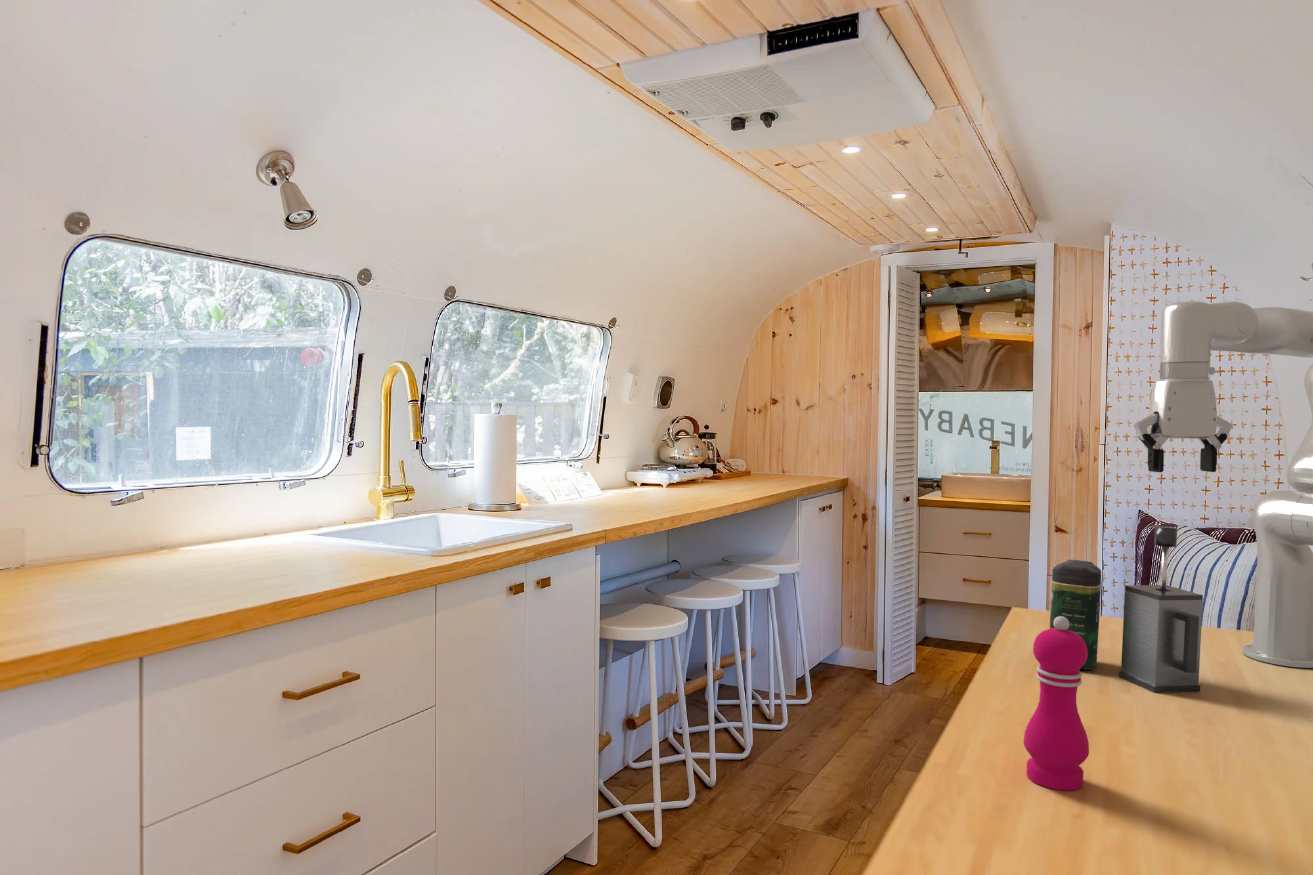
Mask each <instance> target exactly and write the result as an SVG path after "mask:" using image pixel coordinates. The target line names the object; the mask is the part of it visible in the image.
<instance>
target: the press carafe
mask: <svg viewBox="0 0 1313 875" xmlns="http://www.w3.org/2000/svg"><path fill="white" fill-rule="evenodd" d="M1160 587H1161V584H1159V585H1155V584H1154V585H1153V584H1152V585H1151V584H1148V585H1145V584H1144V585H1143V584H1141V585H1140V584H1138V585H1136V584H1135V585H1134V584H1133V585H1132V584H1131V585H1125V584H1124V598H1123V599H1124V600H1123V601H1124V602H1123V623H1122V645H1121V662H1120V664H1121V666H1120V670H1118V677H1119V678H1121V679H1123V680H1125V681H1128V682H1130V683H1132V684H1134V685H1136V686H1139V687H1141V688H1142V689H1145V690H1148V691H1150V692H1152V693H1155V694H1157V693H1189V692H1192V693H1194V692H1201V684H1200V683H1199V681H1200V663H1201V662H1200V661H1201V660H1200V659H1201V642H1202V641H1201V640H1202V623H1203V621H1202V619H1203V603H1204V602H1203V600H1204V595H1203V594H1200V593H1196V592H1193V591H1189V590H1186V589H1182V588H1178V587H1176V586H1175V587H1174V586H1171V585H1167V584H1166V591H1160Z"/></svg>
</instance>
